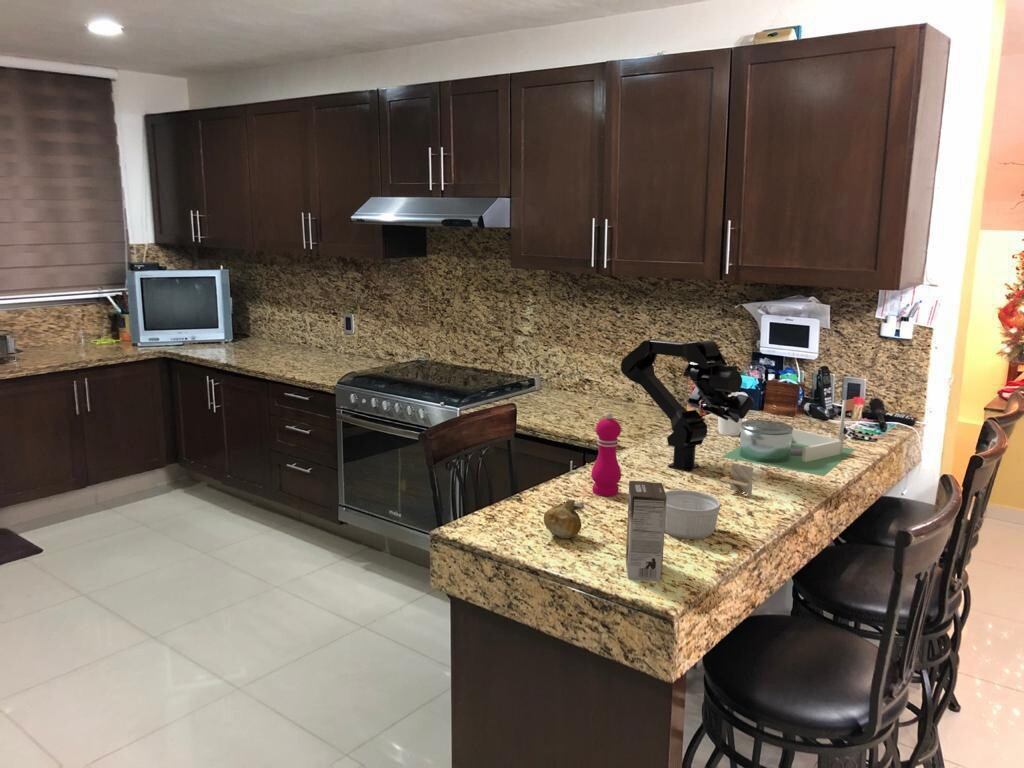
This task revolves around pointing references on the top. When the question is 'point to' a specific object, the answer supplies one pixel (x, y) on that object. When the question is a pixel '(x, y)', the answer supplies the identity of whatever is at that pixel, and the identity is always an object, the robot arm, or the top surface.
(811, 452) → the beige thin-walled piece
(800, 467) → the green mat
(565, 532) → the onion
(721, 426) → the foam cup
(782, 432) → the chrome metal canister
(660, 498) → the coffee box
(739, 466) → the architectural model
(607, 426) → the pepper mill
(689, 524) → the ramekin
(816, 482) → the top surface
